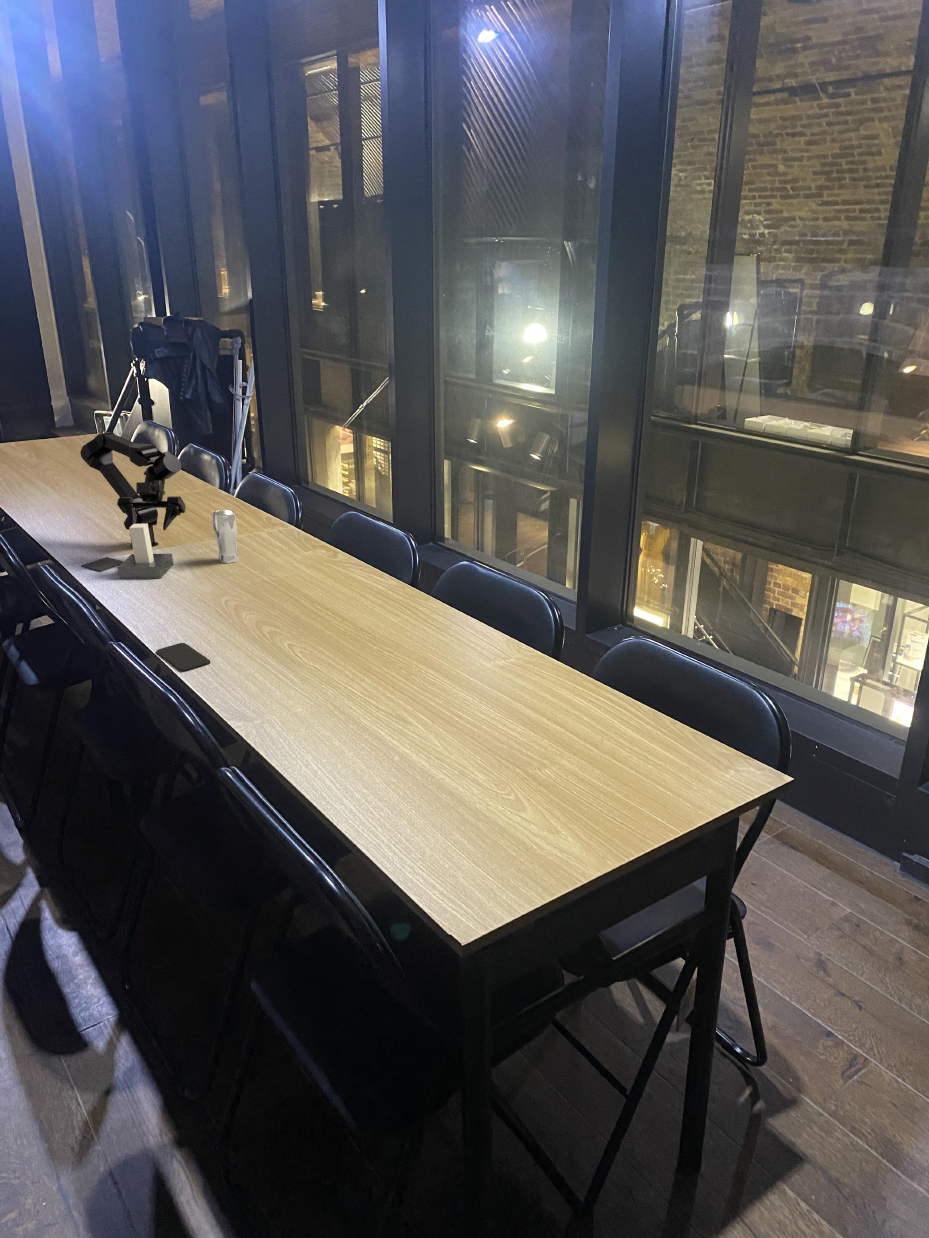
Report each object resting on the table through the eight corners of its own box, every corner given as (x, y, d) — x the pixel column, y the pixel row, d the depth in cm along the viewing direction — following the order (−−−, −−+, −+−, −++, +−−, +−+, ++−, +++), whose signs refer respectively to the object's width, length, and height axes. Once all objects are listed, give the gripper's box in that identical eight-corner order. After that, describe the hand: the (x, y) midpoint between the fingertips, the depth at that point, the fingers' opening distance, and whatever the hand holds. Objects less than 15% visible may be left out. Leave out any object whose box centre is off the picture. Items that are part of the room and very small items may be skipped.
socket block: (133, 564, 264) (131, 553, 262) (173, 564, 264) (171, 553, 263) (119, 578, 253) (117, 567, 251) (161, 578, 253) (159, 566, 252)
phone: (183, 641, 211) (212, 661, 200) (184, 644, 211) (212, 664, 200) (154, 650, 206) (181, 670, 196) (154, 653, 206) (181, 674, 196)
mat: (106, 558, 270) (106, 556, 270) (125, 563, 265) (125, 561, 265) (81, 566, 263) (80, 565, 263) (100, 571, 258) (100, 570, 258)
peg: (142, 569, 260) (133, 523, 255) (155, 568, 260) (147, 523, 255) (137, 573, 256) (129, 527, 251) (151, 573, 256) (143, 527, 251)
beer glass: (234, 564, 264) (228, 516, 258) (213, 563, 265) (207, 515, 259) (244, 557, 270) (239, 510, 264) (223, 555, 271) (217, 508, 265)
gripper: (114, 470, 258) (106, 517, 252) (177, 469, 258) (172, 516, 252) (127, 489, 268) (120, 535, 262) (188, 489, 268) (183, 534, 262)
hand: (148, 530), depth 259 cm, fingers open, 9 cm apart
